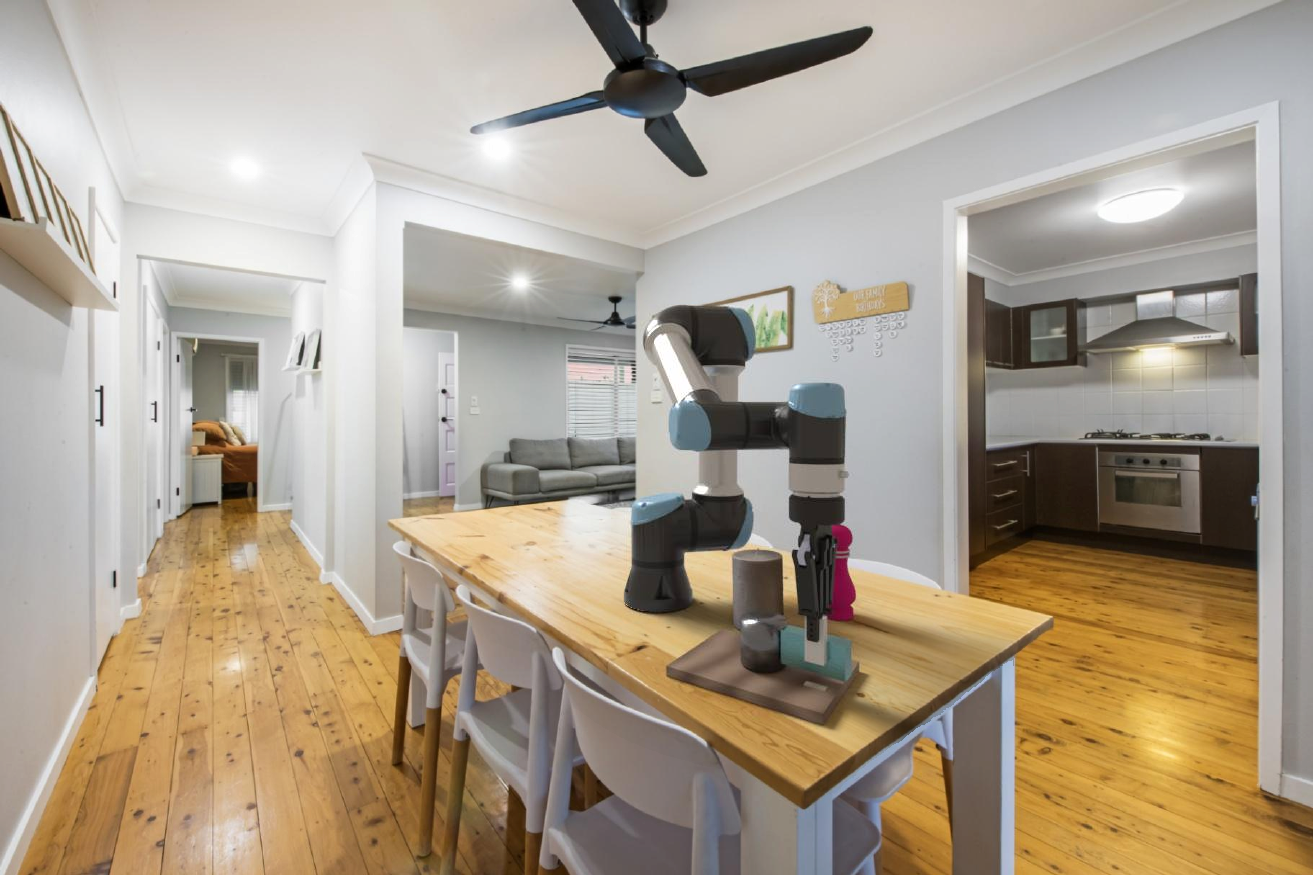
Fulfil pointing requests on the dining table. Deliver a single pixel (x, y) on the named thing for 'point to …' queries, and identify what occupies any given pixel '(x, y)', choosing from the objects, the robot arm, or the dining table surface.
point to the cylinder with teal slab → (787, 647)
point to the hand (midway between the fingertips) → (815, 661)
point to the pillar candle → (757, 582)
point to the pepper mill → (842, 577)
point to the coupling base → (759, 679)
